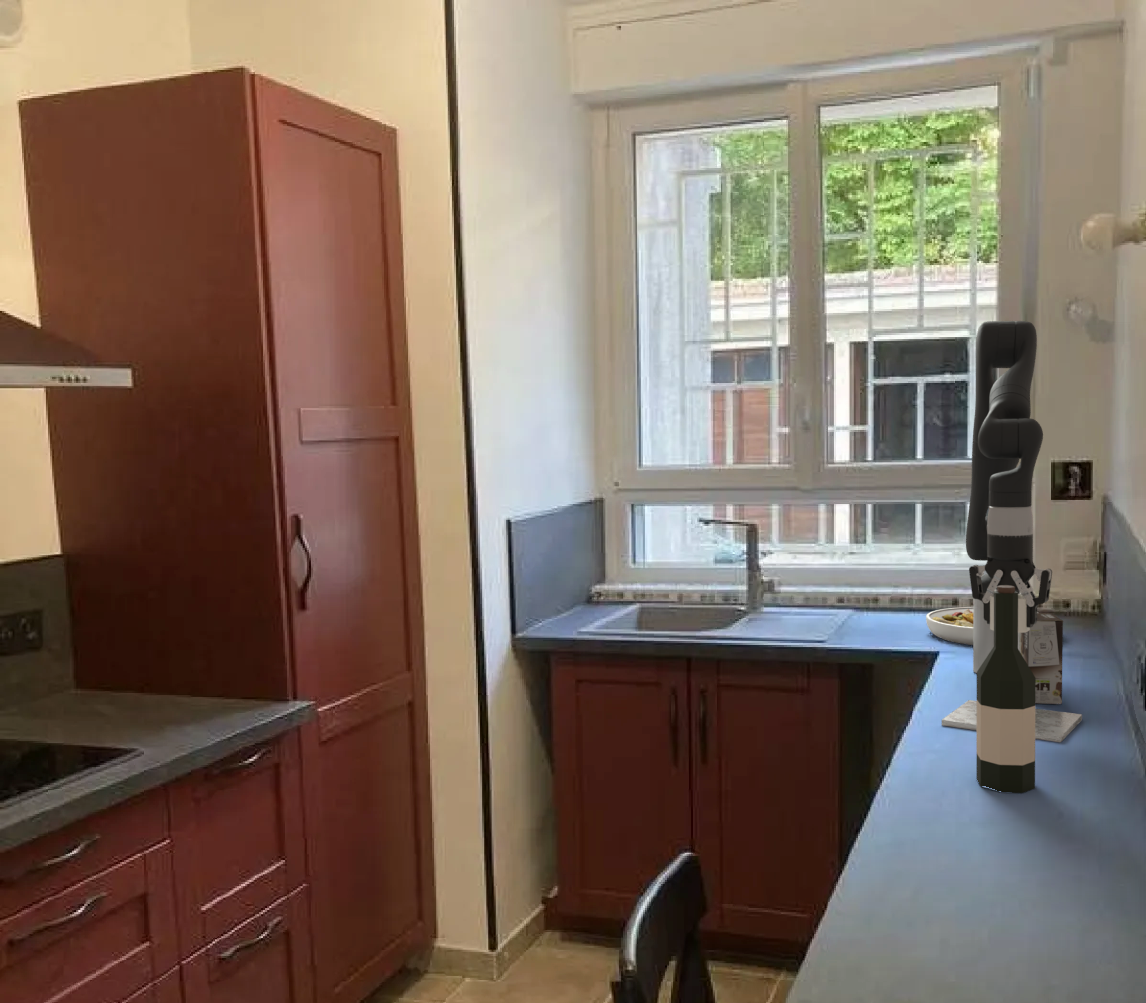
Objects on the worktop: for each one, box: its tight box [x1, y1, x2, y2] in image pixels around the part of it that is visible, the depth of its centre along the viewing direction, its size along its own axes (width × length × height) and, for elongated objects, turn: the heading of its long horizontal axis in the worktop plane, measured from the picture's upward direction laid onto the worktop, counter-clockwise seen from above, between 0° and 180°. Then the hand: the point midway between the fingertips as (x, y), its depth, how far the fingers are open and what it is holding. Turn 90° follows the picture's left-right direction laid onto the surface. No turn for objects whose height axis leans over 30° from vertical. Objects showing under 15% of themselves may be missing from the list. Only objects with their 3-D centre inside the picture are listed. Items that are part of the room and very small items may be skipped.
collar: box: [990, 593, 1030, 633], centre depth 197 cm, size 6×6×6 cm
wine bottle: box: [975, 585, 1036, 794], centre depth 165 cm, size 8×8×30 cm
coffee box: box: [1019, 612, 1064, 705], centre depth 214 cm, size 9×6×16 cm
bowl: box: [925, 606, 1039, 646], centre depth 273 cm, size 30×30×8 cm
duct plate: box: [941, 699, 1083, 743], centre depth 198 cm, size 16×20×6 cm
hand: (1009, 624), depth 197 cm, fingers closed on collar, 6 cm apart
